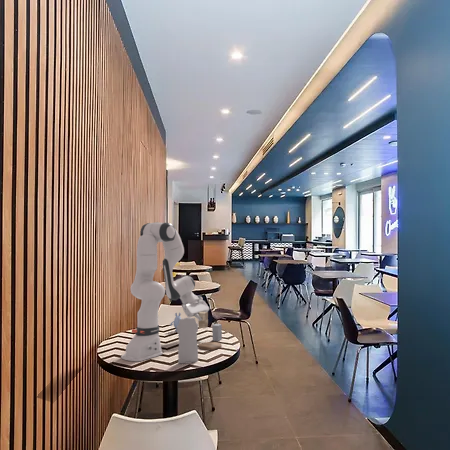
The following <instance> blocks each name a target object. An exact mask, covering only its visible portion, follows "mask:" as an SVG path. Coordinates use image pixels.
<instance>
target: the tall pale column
mask: <svg viewBox="0 0 450 450" xmlns="http://www.w3.org/2000/svg"><path fill="white" fill-rule="evenodd" d="M198 331H199V323H197V321H196V317H188V316H187V317H184V318H181V319H180V321H179V325H178V326H177V331H176V333H177V336H178V349H177V354H178V358H177V359H178V361H177V362H178V364H181V365H182V364H191V363H197V362H199V357H198V356H199V348H198V344H197V343H198V339H197V338H198Z"/></svg>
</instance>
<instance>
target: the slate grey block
mask: <svg viewBox="0 0 450 450" xmlns="http://www.w3.org/2000/svg"><path fill="white" fill-rule="evenodd" d="M211 327H212V328H211V329H212V330H211V331H212V341H213V342H220V341H222V340H223V335H222V334H223V333H222V331H223V330H222V324H221V323H214V324H212V326H211Z"/></svg>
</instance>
